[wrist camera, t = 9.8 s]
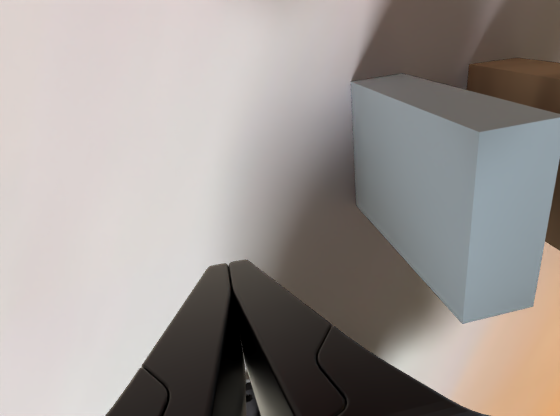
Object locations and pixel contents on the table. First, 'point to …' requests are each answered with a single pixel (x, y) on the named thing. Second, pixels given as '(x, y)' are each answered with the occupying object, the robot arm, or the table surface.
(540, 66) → the domino
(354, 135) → the domino
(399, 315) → the table surface
